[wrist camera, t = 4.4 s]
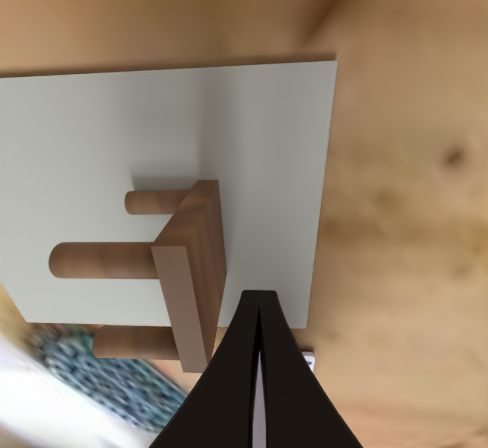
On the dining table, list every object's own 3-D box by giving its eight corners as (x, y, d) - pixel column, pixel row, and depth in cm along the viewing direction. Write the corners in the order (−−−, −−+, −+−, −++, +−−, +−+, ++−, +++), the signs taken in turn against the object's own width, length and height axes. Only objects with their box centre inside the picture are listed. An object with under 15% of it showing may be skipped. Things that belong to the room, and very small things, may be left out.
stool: (218, 179, 14) (185, 246, 8) (226, 274, 17) (208, 373, 11) (131, 181, 15) (37, 246, 8) (156, 273, 18) (101, 369, 12)
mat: (305, 325, 20) (306, 328, 20) (29, 319, 22) (26, 322, 21) (336, 61, 11) (337, 60, 11) (-123, 85, 13) (-130, 85, 13)
